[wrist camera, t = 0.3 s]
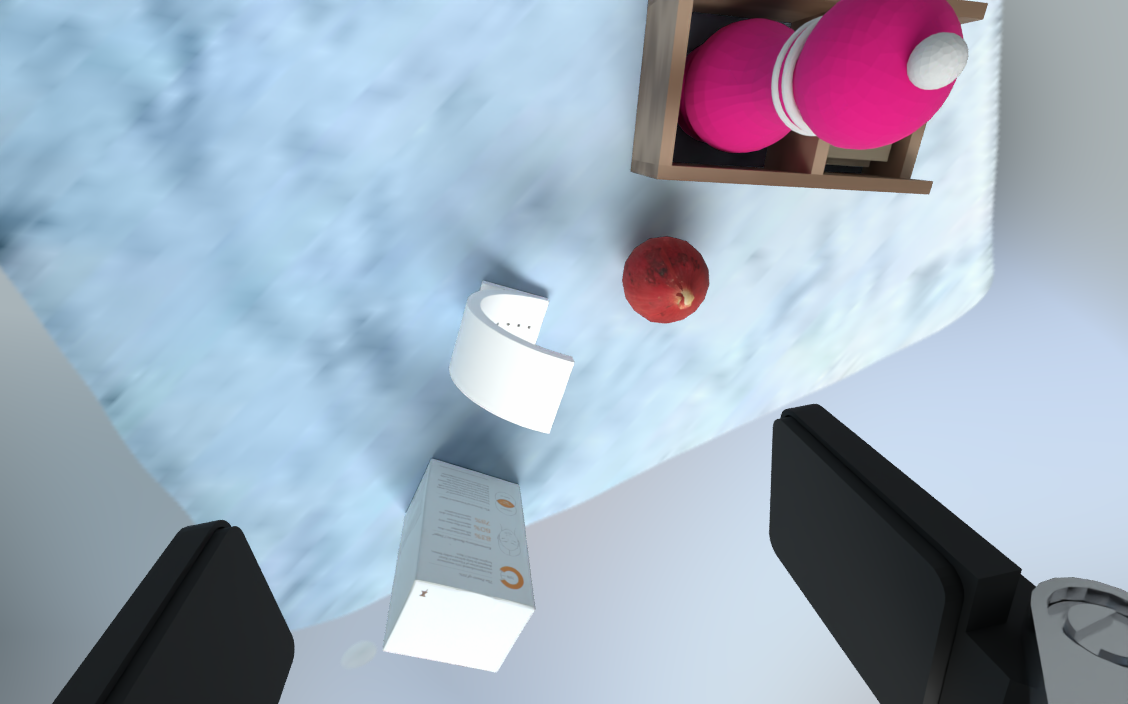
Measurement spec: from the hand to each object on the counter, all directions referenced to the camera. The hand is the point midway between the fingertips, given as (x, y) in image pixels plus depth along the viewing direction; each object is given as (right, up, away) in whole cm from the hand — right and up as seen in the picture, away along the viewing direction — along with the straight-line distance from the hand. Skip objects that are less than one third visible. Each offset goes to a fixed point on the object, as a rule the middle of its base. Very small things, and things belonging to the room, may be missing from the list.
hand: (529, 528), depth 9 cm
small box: (-8, -9, +36) cm, 38 cm away
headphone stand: (-4, +6, +31) cm, 31 cm away
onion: (+7, +10, +31) cm, 33 cm away
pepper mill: (+11, +21, +27) cm, 36 cm away
